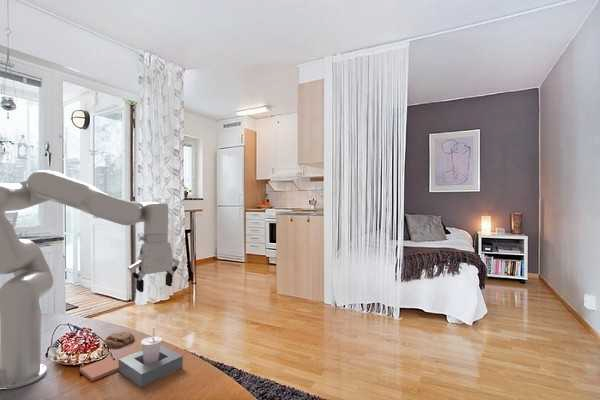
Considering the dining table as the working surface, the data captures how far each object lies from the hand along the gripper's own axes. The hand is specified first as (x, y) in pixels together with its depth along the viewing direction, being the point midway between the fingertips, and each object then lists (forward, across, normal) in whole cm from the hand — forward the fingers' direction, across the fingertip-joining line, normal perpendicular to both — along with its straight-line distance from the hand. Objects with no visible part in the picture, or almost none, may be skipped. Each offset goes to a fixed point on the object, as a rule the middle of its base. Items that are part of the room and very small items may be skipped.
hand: (154, 288), depth 110 cm
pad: (+25, -14, +7) cm, 30 cm away
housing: (+25, -3, -4) cm, 26 cm away
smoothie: (+26, -3, -4) cm, 26 cm away
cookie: (+26, -2, +24) cm, 35 cm away
